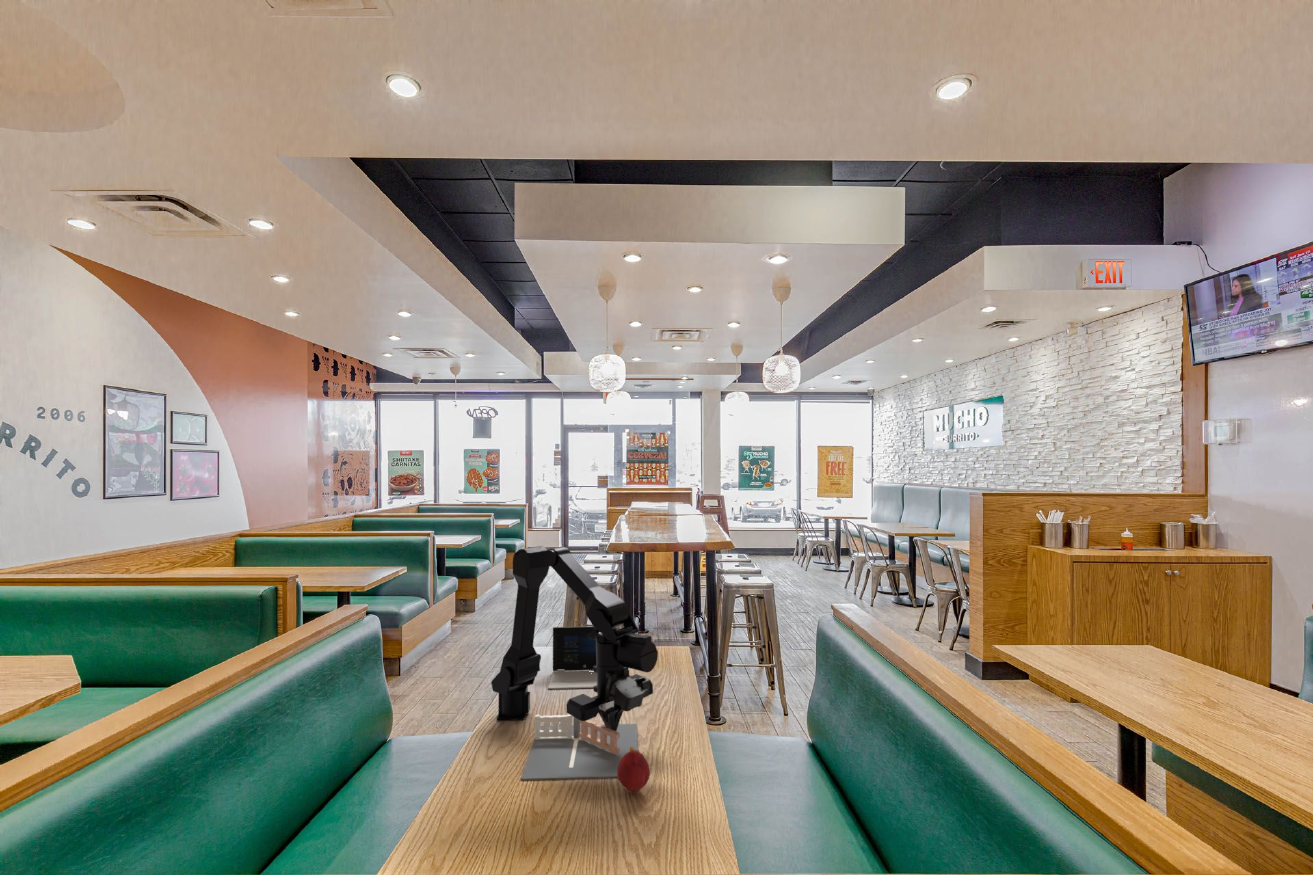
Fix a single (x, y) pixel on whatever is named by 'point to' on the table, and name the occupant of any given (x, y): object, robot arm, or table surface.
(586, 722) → the fence gate
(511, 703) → the robot arm
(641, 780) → the onion
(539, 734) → the fence fixed
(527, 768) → the mat
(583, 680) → the laptop
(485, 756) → the table surface
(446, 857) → the table surface
